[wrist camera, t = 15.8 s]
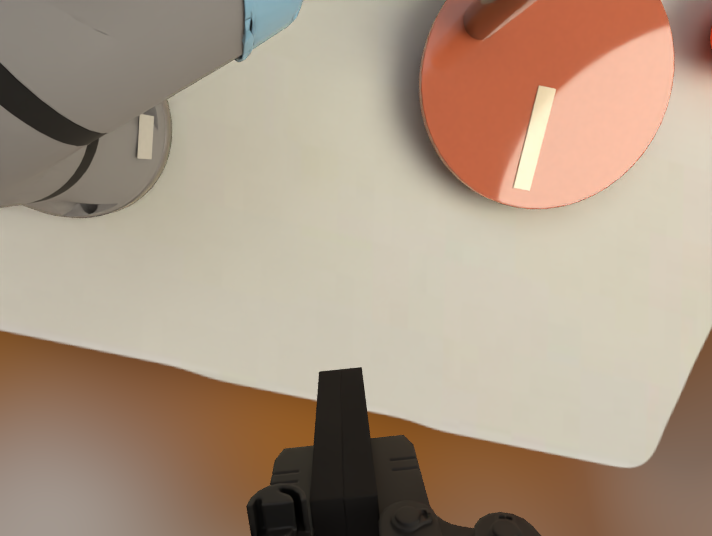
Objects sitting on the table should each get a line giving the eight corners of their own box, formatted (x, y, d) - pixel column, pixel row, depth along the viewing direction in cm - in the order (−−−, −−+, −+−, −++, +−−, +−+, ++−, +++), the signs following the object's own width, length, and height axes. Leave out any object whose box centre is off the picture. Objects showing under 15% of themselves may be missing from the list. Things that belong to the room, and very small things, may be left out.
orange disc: (449, -85, 36) (522, -239, 22) (698, -26, 37) (914, -135, 23) (395, 184, 40) (428, 198, 26) (621, 226, 41) (765, 261, 28)
